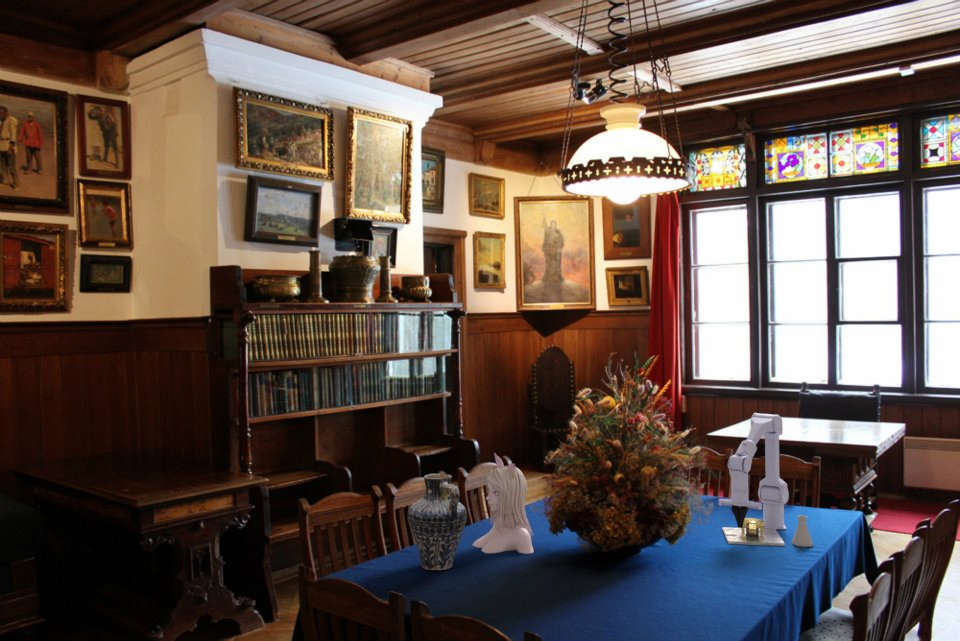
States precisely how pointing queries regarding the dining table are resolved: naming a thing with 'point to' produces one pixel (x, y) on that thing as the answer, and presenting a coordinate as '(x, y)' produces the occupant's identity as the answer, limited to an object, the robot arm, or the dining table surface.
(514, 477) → the figurine bust
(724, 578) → the dining table surface
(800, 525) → the flask
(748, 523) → the gold bar with disc
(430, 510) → the jug
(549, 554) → the dining table surface
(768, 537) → the base plate
